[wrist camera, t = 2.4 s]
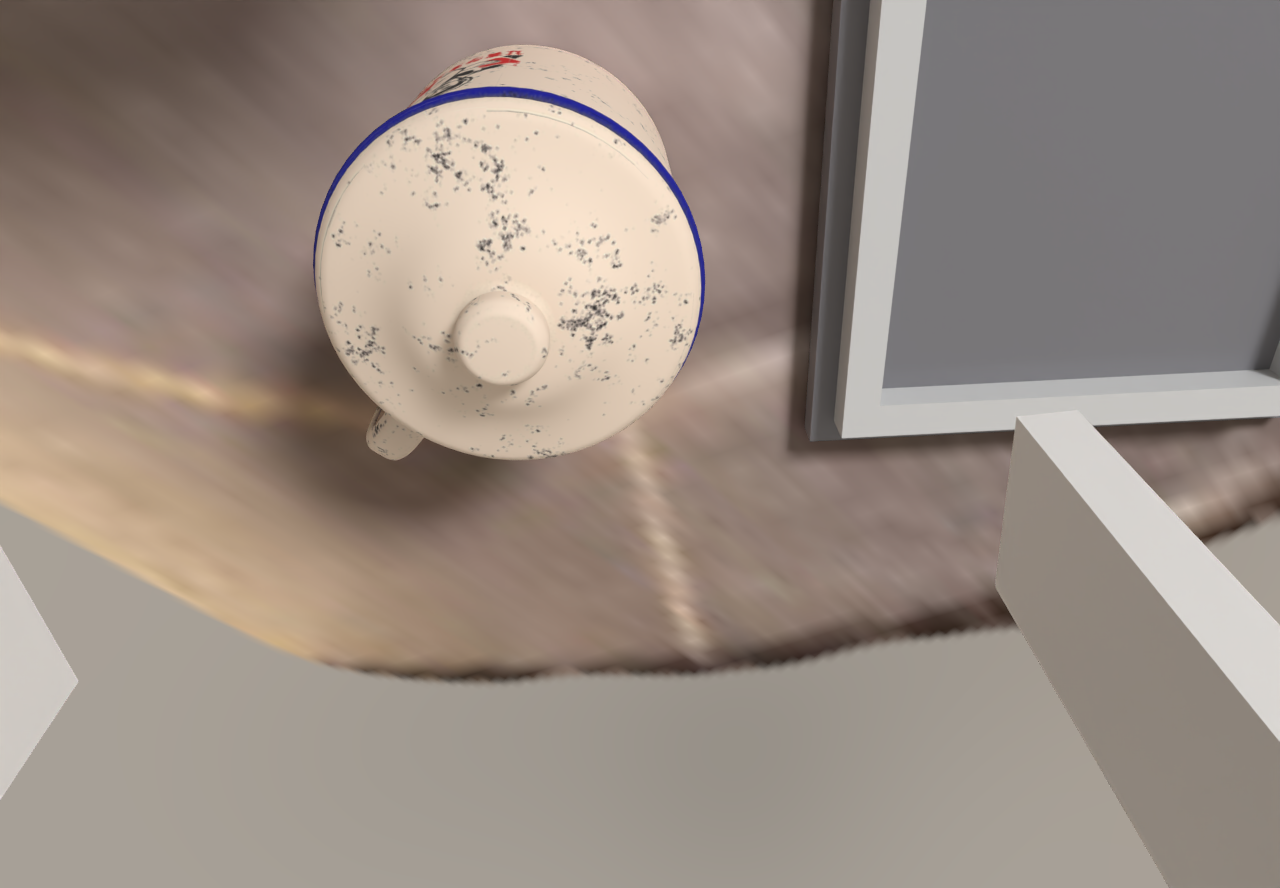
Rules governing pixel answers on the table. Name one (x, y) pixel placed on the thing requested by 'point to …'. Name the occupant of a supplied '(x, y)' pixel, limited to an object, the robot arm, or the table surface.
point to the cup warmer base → (1047, 215)
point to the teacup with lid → (510, 261)
